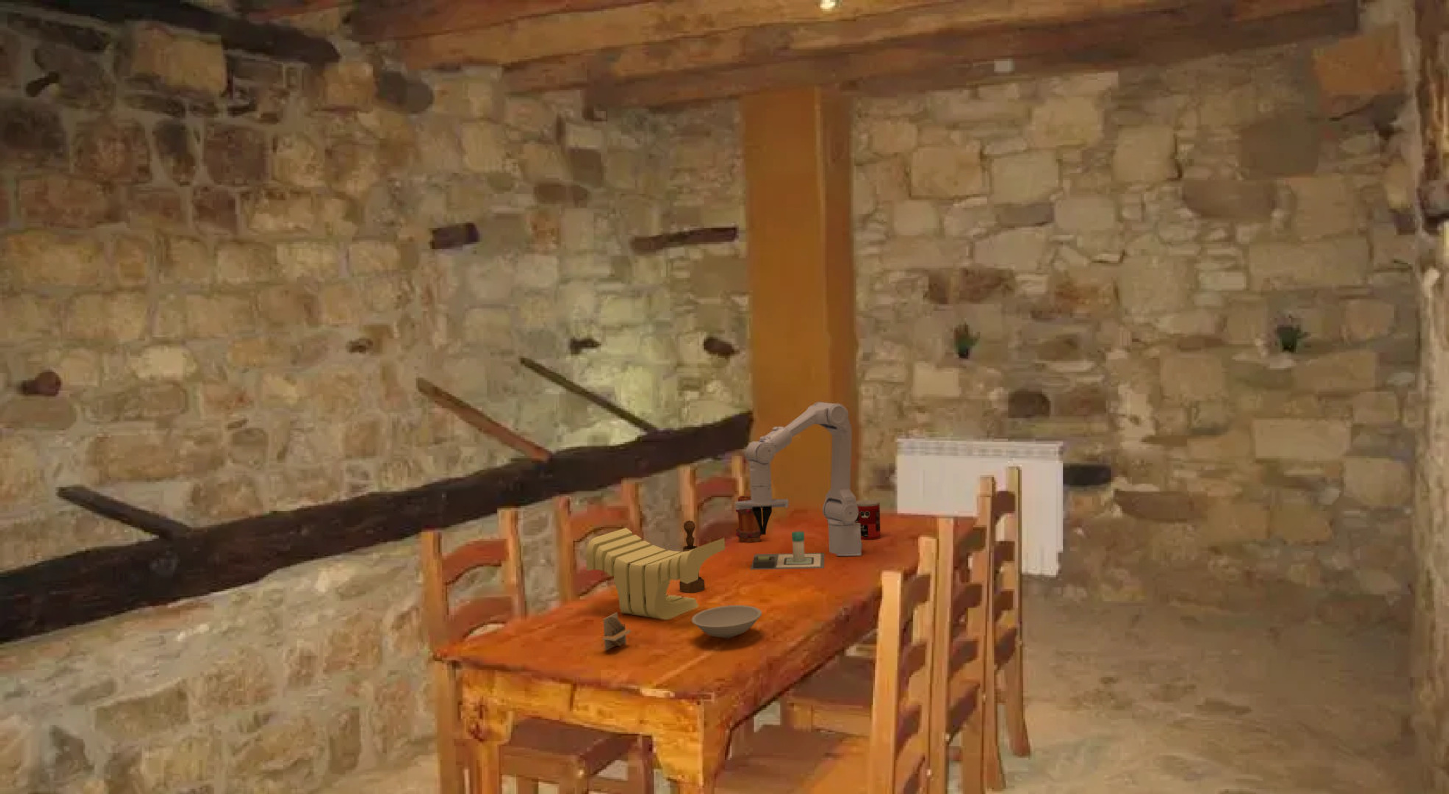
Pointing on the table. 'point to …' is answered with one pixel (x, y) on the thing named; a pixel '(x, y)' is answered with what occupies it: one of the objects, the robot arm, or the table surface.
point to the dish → (727, 620)
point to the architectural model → (614, 632)
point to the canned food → (869, 519)
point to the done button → (764, 558)
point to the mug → (747, 522)
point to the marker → (798, 546)
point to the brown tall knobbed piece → (689, 529)
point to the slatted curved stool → (647, 572)
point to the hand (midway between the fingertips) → (763, 534)
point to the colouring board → (788, 561)
